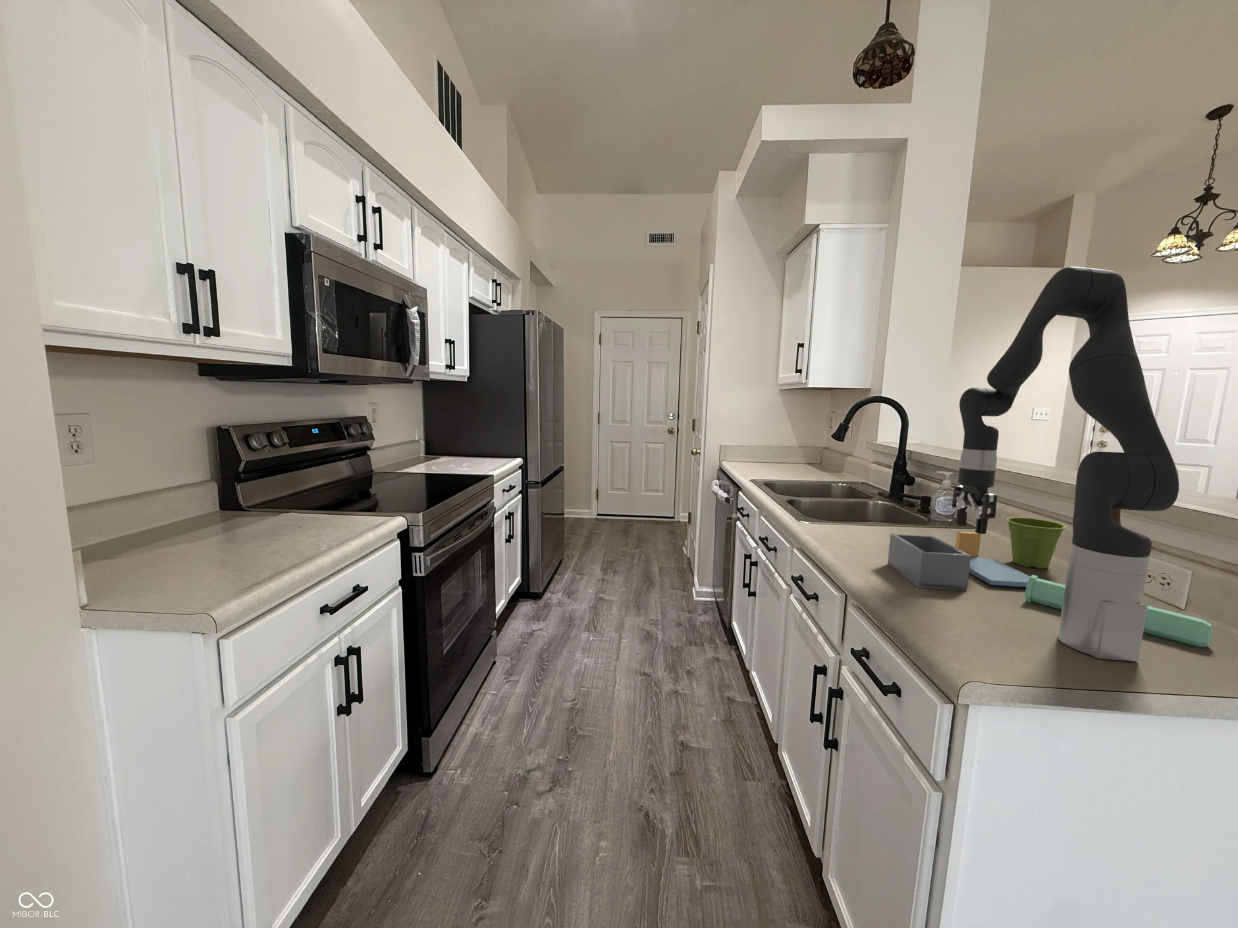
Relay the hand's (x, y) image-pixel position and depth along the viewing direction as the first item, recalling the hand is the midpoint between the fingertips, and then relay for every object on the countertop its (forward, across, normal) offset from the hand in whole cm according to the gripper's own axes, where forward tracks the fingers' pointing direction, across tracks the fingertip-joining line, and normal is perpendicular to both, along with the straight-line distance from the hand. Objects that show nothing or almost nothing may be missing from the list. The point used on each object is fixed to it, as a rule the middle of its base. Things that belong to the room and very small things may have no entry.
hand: (970, 529), depth 127 cm
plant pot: (+9, +2, -16) cm, 19 cm away
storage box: (+9, -13, +17) cm, 23 cm away
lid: (+9, -8, 0) cm, 13 cm away
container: (+10, -34, -7) cm, 36 cm away
